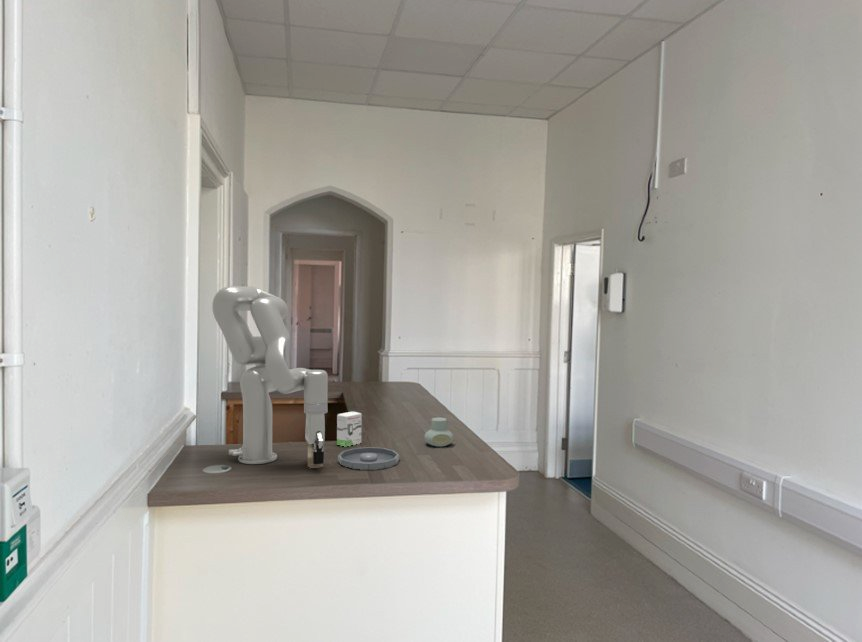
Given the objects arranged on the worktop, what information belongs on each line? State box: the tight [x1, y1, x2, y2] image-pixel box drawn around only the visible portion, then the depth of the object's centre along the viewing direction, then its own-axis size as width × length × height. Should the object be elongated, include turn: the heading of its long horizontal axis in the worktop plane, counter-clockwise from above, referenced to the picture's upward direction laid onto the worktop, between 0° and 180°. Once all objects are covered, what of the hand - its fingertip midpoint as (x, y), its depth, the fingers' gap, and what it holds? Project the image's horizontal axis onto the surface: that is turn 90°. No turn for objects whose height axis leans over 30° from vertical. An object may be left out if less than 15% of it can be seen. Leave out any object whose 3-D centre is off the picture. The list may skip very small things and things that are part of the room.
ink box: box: [336, 411, 363, 448], centre depth 220 cm, size 9×5×12 cm, turn 143°
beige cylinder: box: [307, 443, 324, 468], centre depth 192 cm, size 5×5×7 cm
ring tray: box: [337, 446, 400, 471], centre depth 198 cm, size 20×20×2 cm
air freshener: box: [423, 416, 454, 448], centre depth 221 cm, size 11×8×10 cm
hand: (315, 459), depth 192 cm, fingers open, 9 cm apart
